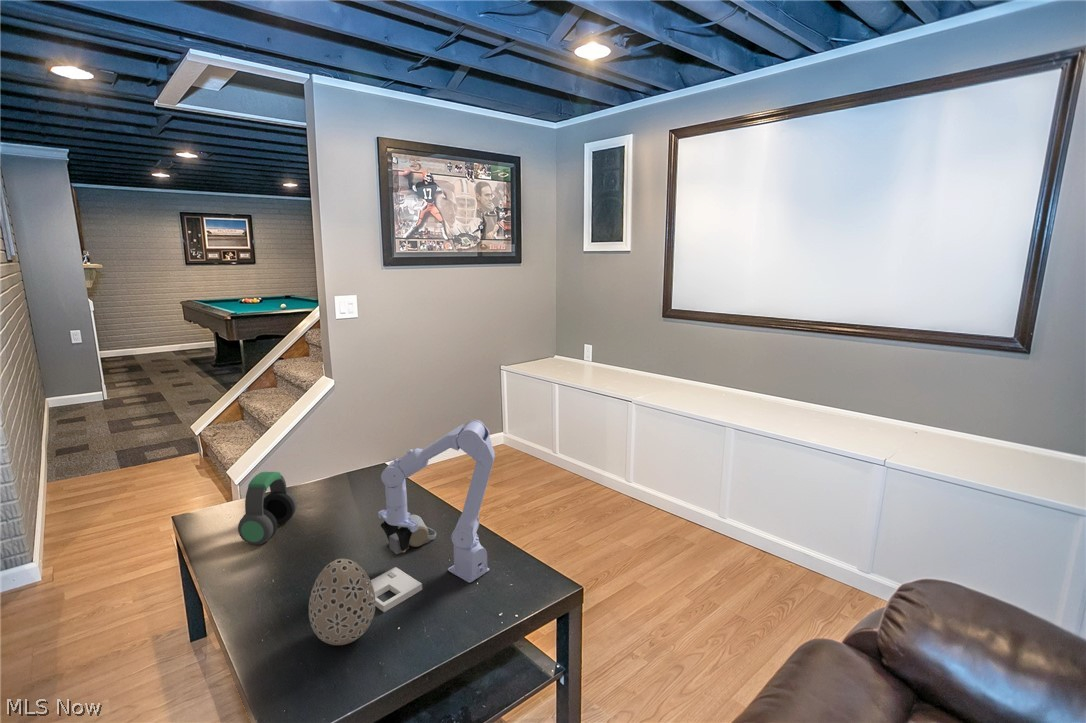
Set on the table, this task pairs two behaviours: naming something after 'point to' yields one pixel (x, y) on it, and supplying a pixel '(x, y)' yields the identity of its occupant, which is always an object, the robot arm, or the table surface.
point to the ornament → (341, 603)
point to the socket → (394, 588)
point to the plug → (395, 544)
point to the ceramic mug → (420, 532)
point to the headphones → (265, 508)
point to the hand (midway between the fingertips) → (399, 546)
